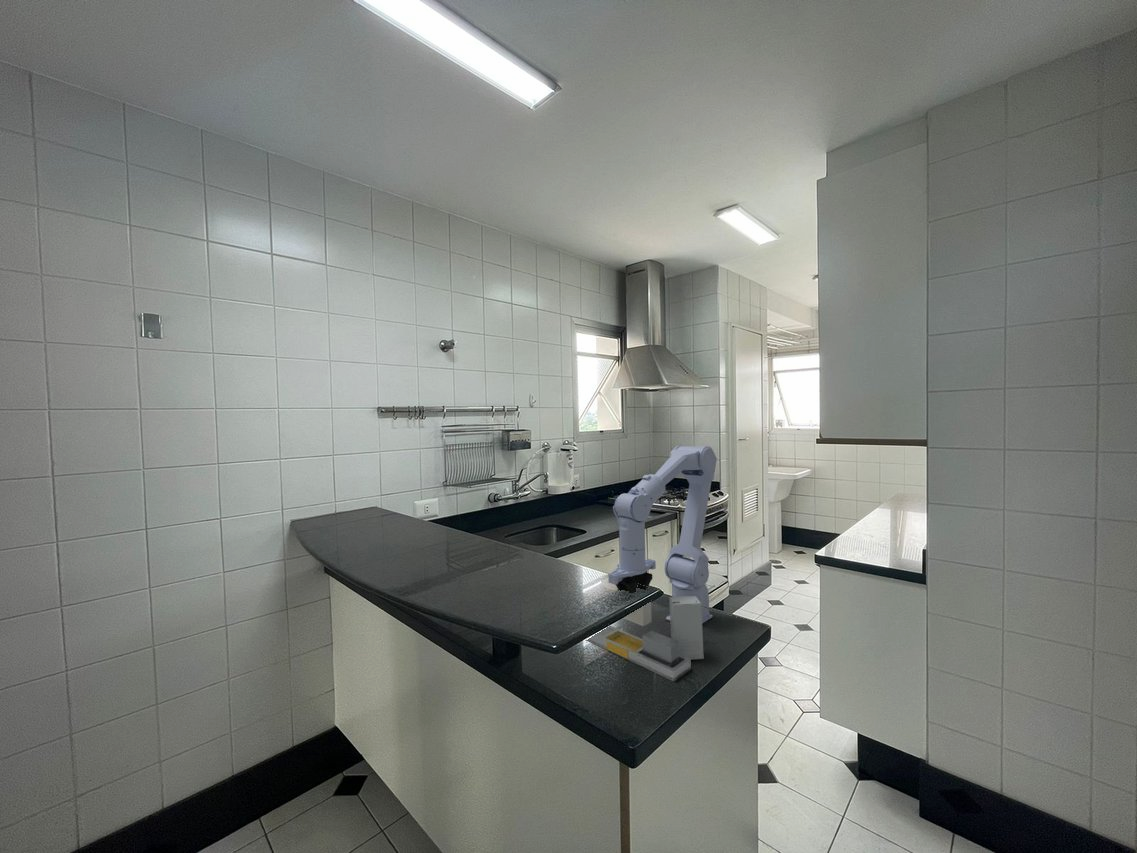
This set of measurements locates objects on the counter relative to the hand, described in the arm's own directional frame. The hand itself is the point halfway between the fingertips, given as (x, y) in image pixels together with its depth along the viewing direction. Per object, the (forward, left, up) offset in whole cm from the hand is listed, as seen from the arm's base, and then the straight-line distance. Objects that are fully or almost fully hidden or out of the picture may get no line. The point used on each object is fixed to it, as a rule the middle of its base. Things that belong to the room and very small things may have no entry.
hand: (633, 607), depth 98 cm
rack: (+3, 0, -9) cm, 9 cm away
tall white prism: (0, 0, -3) cm, 3 cm away
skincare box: (-4, +11, -9) cm, 14 cm away
